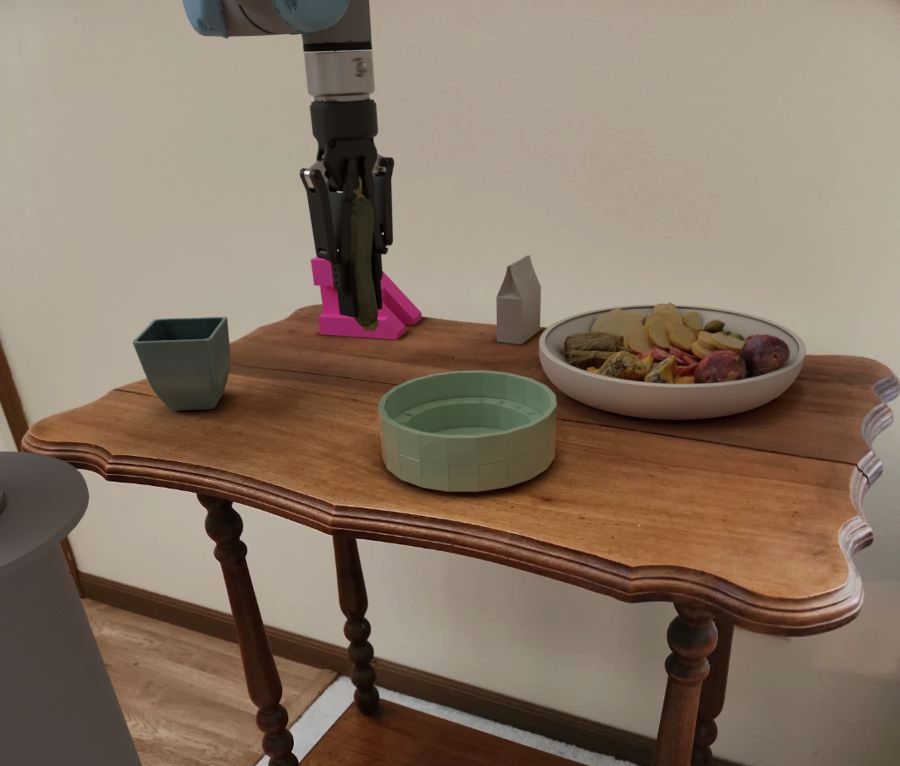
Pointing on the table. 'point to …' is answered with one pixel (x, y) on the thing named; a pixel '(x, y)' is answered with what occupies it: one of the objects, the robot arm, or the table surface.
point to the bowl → (671, 360)
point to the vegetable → (363, 258)
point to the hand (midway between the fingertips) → (361, 311)
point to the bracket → (332, 323)
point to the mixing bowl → (468, 430)
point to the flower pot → (186, 360)
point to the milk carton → (518, 303)
